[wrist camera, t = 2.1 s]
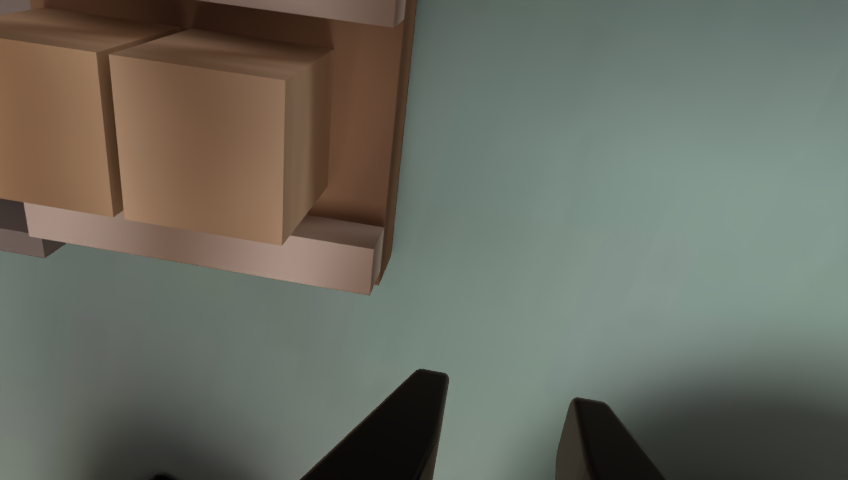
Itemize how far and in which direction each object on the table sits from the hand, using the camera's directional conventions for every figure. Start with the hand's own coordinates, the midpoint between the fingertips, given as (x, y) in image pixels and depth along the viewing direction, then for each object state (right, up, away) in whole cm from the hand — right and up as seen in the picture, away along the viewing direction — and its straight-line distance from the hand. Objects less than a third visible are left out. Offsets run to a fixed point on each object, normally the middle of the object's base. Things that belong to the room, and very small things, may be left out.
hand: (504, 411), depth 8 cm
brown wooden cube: (-6, +6, +10) cm, 13 cm away
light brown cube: (-10, +7, +11) cm, 16 cm away
